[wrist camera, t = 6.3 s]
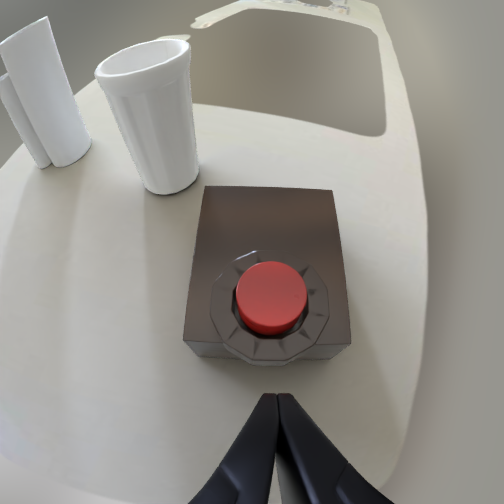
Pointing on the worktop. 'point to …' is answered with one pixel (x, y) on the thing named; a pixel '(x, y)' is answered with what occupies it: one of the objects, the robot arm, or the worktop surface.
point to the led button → (271, 297)
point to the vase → (41, 97)
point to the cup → (154, 111)
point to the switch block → (262, 250)
